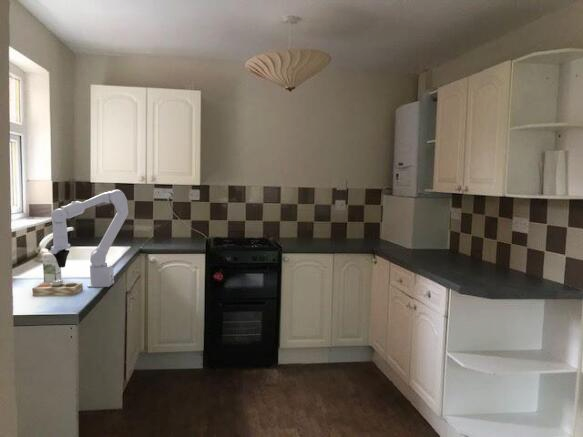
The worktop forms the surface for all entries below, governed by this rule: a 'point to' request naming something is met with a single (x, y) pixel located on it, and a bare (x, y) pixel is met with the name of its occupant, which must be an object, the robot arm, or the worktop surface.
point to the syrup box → (50, 268)
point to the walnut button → (70, 284)
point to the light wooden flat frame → (57, 290)
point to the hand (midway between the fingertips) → (62, 267)
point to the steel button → (57, 283)
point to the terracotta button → (44, 285)
